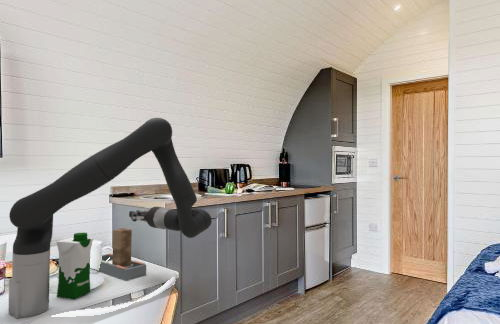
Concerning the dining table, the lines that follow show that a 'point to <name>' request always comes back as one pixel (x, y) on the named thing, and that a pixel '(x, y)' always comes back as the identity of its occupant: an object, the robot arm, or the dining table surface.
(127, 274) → the tray
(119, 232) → the walnut block
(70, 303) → the dining table surface
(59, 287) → the milk carton
